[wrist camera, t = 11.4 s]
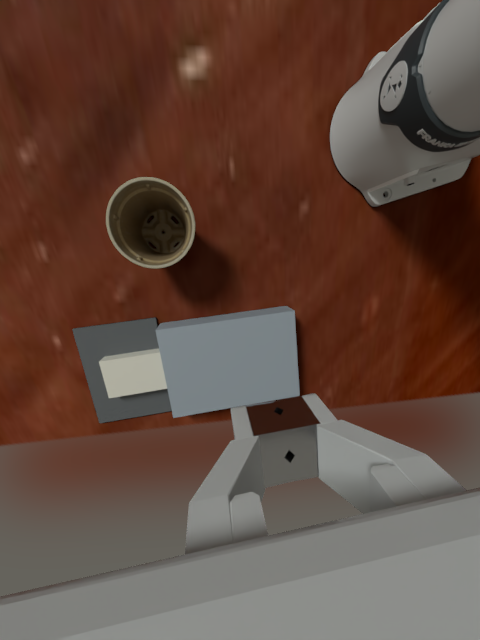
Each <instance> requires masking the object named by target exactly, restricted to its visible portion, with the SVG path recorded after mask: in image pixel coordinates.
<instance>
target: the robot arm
mask: <svg viewBox="0 0 480 640" xmlns="http://www.w3.org/2000/svg"><path fill="white" fill-rule="evenodd" d="M330 146H331V152H332V156H333V159H334V162H335V164H336V166H337V168H338V170H339V172H340V173H341V174H342V176H343V177H344V178H345V179H346V180H347V181H348V182H349V183H351V184H352V185H353V186H355V187H356V188H358V189H359V190H360V191H361V192H362V194H363V195H364V197H365V199H366V200H367V202H368V203H369V204H370V205H371V206H373V207H377V206H380V205H383V204H386V203H389V202H392V201H395V200H398V199H401V198H404V197H408V196H411V195H414V194H417V193H420V192H423V191H426V190H429V189H432V188H435V187H438V186H441V185H444V184H447V183H450V182H453V181H455V180H458V179H460V178H461V177H462V176H463V175H464V173H465V171H466V169H467V168H468V165H469V163H470V161H471V158H473V157H476V156H478V155H480V0H443V1H442V2H441V3H439V4H438V5H437V6H436V7H434V8H433V9H432V10H431V11H430V13H429V14H428V15H427V16H426V17H425V18H424V20H422V21H420V22H418V23H417V24H416V25H415V26H414V27H413V28H411V29H410V30H409V31H408V32H407V33H406V34H405V35H404V36H403V37H402V38H401V39H400V40H399V41H398V42H397V43H396V44H395V45H394V46H393V47H392V48H391V49H390V50H389V51H388V52H380V53H378V54H377V55H376V56H375V57H374V58H373V59H372V60H371V61H370V63H369V65H368V66H367V68H366V70H365V72H364V74H363V76H362V78H361V79H360V80H359V81H358V82H357V83H356V84H355V85H354V86H352V87H351V88H350V89H349V90H348V91H347V92H346V94H345V95H344V96H343V97H342V99H341V100H340V102H339V104H338V106H337V108H336V110H335V113H334V116H333V119H332V123H331V129H330ZM383 193H385V197H384V196H383ZM231 416H232V423H233V431H234V438H235V440H232V441H230V443H229V444H228V446H227V447H226V449H225V450H224V452H223V453H222V455H221V457H220V458H219V459H218V461H217V462H216V464H215V465H214V467H213V469H212V470H211V471H210V473H209V474H208V476H207V477H206V479H205V480H204V482H203V483H202V485H201V486H200V488H199V489H198V491H197V492H196V494H195V495H194V497H193V498H192V500H191V501H190V503H189V512H188V524H187V537H186V548H185V555H181V556H176V557H173V558H168V559H163V560H159V561H155V562H150V563H146V564H141V565H137V566H133V567H128V568H124V569H119V570H115V571H111V572H106V573H102V574H97V575H93V576H89V577H85V578H80V579H75V580H71V581H67V582H62V583H58V584H54V585H49V586H45V587H40V588H36V589H32V590H27V591H23V592H18V593H14V594H10V595H5V596H1V597H0V640H480V488H476V489H471V490H466V489H465V488H464V487H463V486H461V485H460V484H459V483H458V482H457V481H456V480H455V479H454V478H452V477H451V476H450V475H449V474H448V473H447V472H446V471H444V470H443V469H442V468H441V467H440V466H439V465H438V464H437V463H436V462H434V461H433V460H432V459H431V458H430V457H429V456H428V455H427V454H424V453H422V452H419V451H417V450H415V449H412V448H410V447H407V446H405V445H402V444H400V443H398V442H395V441H392V440H390V439H388V438H385V437H383V436H380V435H378V434H376V433H373V432H371V431H368V430H366V429H363V428H361V427H358V426H356V425H353V424H351V423H349V422H346V421H344V420H339V421H338V420H337V419H336V418H335V416H334V415H333V414H332V413H331V412H330V410H329V409H328V408H327V407H326V406H325V404H324V403H323V402H322V401H321V400H320V398H319V397H318V396H317V395H316V394H314V393H313V394H309V395H304V396H300V397H295V398H290V399H285V400H280V401H275V402H274V401H272V402H266V403H259V404H253V405H246V406H240V407H234V408H231ZM314 477H319V478H320V479H321V480H322V481H323V482H324V483H326V484H327V485H328V486H329V487H331V488H332V489H333V490H334V491H336V492H337V493H338V494H339V495H341V496H342V497H343V498H344V499H345V500H347V501H348V502H349V503H350V504H352V505H353V506H354V507H355V508H357V509H358V510H359V511H360V512H362V513H363V514H361V515H356V516H352V517H348V518H343V519H339V520H335V521H330V522H326V523H321V524H317V525H313V526H308V527H304V528H299V529H295V530H291V531H286V532H282V533H278V534H273V535H269V536H268V532H267V527H266V523H265V519H264V514H263V510H262V506H261V501H262V498H263V495H264V492H265V488H267V487H270V486H275V485H279V484H283V483H287V482H291V481H297V480H303V479H309V478H314Z"/></svg>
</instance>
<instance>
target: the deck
mask: <svg viewBox="0 0 480 640" xmlns="http://www.w3.org/2000/svg"><path fill="white" fill-rule="evenodd" d="M155 331H156V336H157V341H158V345H159V350H160V355H161V360H162V365H163V370H164V375H165V380H166V384H167V389H168V394H169V399H170V404H171V409H172V414H173V418H176V417H181V416H187V415H193V414H198V413H204V412H210V411H216V410H221V409H227V408H233V407H239V406H244V405H250V404H256V403H261V402H267V401H273V400H279V399H284V398H290V397H296V396H300V391H299V375H298V358H297V342H296V325H295V311H294V310H293V309H291V308H289V307H287V306H282V307H275V308H267V309H260V310H253V311H246V312H238V313H231V314H224V315H217V316H210V317H202V318H195V319H188V320H181V321H173V322H166V323H160V325H159V326H158V327H157V329H156V330H155Z"/></svg>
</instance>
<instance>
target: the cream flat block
mask: <svg viewBox="0 0 480 640" xmlns="http://www.w3.org/2000/svg"><path fill="white" fill-rule="evenodd" d="M99 365H100V368H101V372H102V375H103V379H104V383H105V386H106V390H107V393H108V397H109V398H114V397H120V396H126V395H132V394H138V393H144V392H150V391H156V390H162V389H167V384H166V380H165V375H164V370H163V365H162V360H161V355H160V350H159V348H158V349H151V350H145V351H138V352H132V353H125V354H119V355H112V356H105V357H103V358H102V359H101V360H100V361H99Z"/></svg>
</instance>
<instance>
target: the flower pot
mask: <svg viewBox="0 0 480 640" xmlns="http://www.w3.org/2000/svg"><path fill="white" fill-rule="evenodd" d="M152 215H153V216H154V219H152V220H151V221H150V223H147V222H148V220H149V218H150V217H151V216H152ZM172 216H174V217H175V218H176V219H177V221H178V222H179V223H178V224H176V223H175V222H174V221H173V220H172V219H171V217H172ZM106 226H107V231H108V234H109V237H110V239H111V241H112V243H113V244H114V246H115V247H116V249H117V250H118V251H119V252H120V253H121V254H122V255H123V256H124V257H125V258H127V259H128V260H130V261H131V262H133V263H135V264H137V265H139V266H142V267H146V268H164V267H168V266H171V265H173V264H175V263H177V262H178V261H179V260H181V259H182V258H183V257H184V256H185V255H186V254H187V252H188V251H189V249H190V247H191V245H192V243H193V240H194V236H195V219H194V215H193V211H192V209H191V206H190V204H189V203H188V201H187V200H186V198H185V197H184V195H183V194H182V193H181V192H180V191H179V190H178V189H177V188H175V187H174V186H173V185H171V184H170V183H168V182H166V181H163V180H160V179H157V178H153V177H140V178H135V179H132V180H130V181H128V182H126V183H125V184H123V185H121V186H120V187H119V188H118V189H117V190H116V191H115V193H114V194H113V196H112V197H111V199H110V201H109V204H108V207H107V211H106ZM162 231H165V233H164V234H163V233H162ZM149 242H151V243H152V244H153V245H154V246H155V247H156V249H154V248H152V247H151V246H150V245H149ZM177 242H179V244H178V245H177V246H176V247H173V246H174V245H175V243H177Z"/></svg>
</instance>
